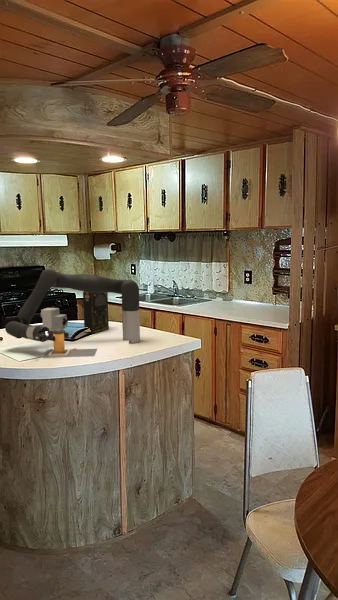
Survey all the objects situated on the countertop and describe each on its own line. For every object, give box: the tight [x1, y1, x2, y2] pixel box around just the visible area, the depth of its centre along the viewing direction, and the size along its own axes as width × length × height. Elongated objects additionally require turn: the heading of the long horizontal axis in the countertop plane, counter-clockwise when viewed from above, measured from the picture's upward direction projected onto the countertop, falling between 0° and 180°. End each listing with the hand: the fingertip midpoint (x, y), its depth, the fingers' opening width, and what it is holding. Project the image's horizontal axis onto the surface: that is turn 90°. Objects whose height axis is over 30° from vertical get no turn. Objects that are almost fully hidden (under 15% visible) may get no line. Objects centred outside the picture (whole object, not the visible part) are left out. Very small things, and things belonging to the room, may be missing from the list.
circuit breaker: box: [40, 307, 69, 330], centre depth 269 cm, size 8×14×15 cm, turn 78°
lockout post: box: [52, 328, 66, 354], centre depth 219 cm, size 5×5×12 cm
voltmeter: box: [82, 291, 110, 334], centre depth 275 cm, size 16×9×25 cm, turn 148°
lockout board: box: [42, 347, 98, 359], centre depth 222 cm, size 24×14×3 cm, turn 92°
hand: (61, 336), depth 218 cm, fingers open, 8 cm apart
